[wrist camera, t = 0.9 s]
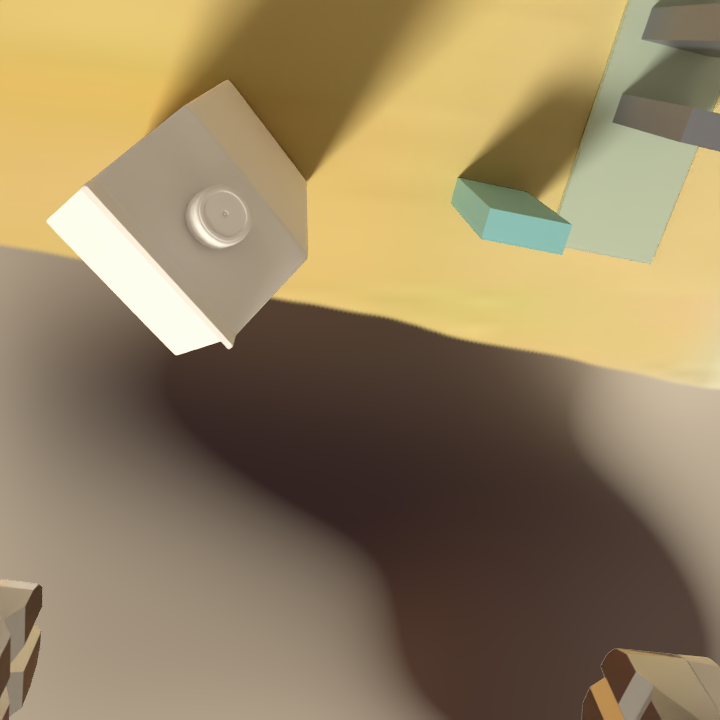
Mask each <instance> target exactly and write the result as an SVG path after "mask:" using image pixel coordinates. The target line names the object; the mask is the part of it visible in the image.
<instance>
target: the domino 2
mask: <svg viewBox="0 0 720 720" xmlns="http://www.w3.org/2000/svg"><path fill="white" fill-rule="evenodd" d="M641 39H642V40H646V41H650V42H654V43H658V44H662V45H665V46H669V47H673V48H677V49H681V50H685V51H689V52H693V53H697V54H701V55H705V56H709V57H717V58H720V3H714V4H700V5H686V6H671V7H657V8H652V10H651V12H650V15H649V18H648V21H647V24H646V27H645V30H644V33H643V35H642V38H641Z"/></svg>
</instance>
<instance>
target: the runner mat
mask: <svg viewBox="0 0 720 720" xmlns="http://www.w3.org/2000/svg"><path fill="white" fill-rule="evenodd" d="M714 3H720V0H628V2H627V5H626V8H625V11H624V14H623V17H622V20H621V23H620V26H619V29H618V32H617V35H616V38H615V41H614V44H613V47H612V50H611V53H610V56H609V59H608V62H607V65H606V68H605V71H604V74H603V77H602V80H601V83H600V86H599V89H598V92H597V95H596V98H595V101H594V104H593V107H592V110H591V113H590V116H589V119H588V122H587V125H586V128H585V131H584V134H583V137H582V140H581V143H580V146H579V149H578V152H577V155H576V158H575V161H574V164H573V167H572V170H571V173H570V176H569V179H568V182H567V185H566V188H565V191H564V194H563V197H562V200H561V203H560V206H559V209H558V212H557V214H558V215H560V216H561V217H562V218H564V219H565V220H567V221H568V222H569V223H571V224H572V228H571V231H570V234H569V236H568V239H567V242H566V245H565V248H570V249H575V250H580V251H585V252H590V253H595V254H600V255H605V256H610V257H615V258H620V259H625V260H630V261H636V262H641V263H646V264H651V262H652V260H653V257H654V255H655V253H656V250H657V248H658V245H659V243H660V240H661V238H662V235H663V233H664V230H665V228H666V225H667V223H668V220H669V218H670V215H671V213H672V210H673V208H674V205H675V203H676V200H677V198H678V195H679V193H680V190H681V188H682V186H683V183H684V181H685V178H686V176H687V173H688V171H689V168H690V166H691V163H692V161H693V158H694V156H695V153H696V151H697V148H698V146H694V145H690V144H686V143H681V142H677V141H674V140H671V139H667V138H664V137H660V136H657V135H653V134H650V133H647V132H643V131H640V130H636V129H633V128H630V127H626V126H623V125H619V124H616V123H612V122H613V119H614V116H615V113H616V110H617V107H618V104H619V102H620V99H621V96H622V94H626V95H631V96H636V97H641V98H647V99H652V100H657V101H662V102H667V103H673V104H678V105H683V106H688V107H693V108H697V109H702V110H706V111H710V112H712V111H713V109H714V106H715V104H716V101H717V99H718V96H719V94H720V58H717V57H709V56H705V55H701V54H697V53H693V52H689V51H685V50H681V49H677V48H673V47H669V46H665V45H662V44H658V43H654V42H650V41H646V40H642V39H641V38H642V35H643V33H644V30H645V27H646V24H647V21H648V18H649V15H650V12H651V10H652V8H657V7H671V6H686V5H700V4H714Z"/></svg>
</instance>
